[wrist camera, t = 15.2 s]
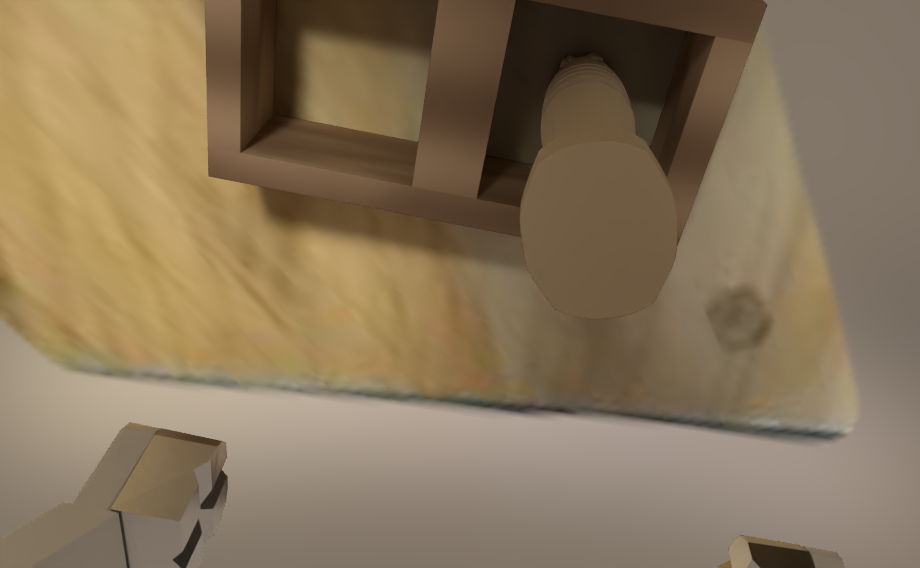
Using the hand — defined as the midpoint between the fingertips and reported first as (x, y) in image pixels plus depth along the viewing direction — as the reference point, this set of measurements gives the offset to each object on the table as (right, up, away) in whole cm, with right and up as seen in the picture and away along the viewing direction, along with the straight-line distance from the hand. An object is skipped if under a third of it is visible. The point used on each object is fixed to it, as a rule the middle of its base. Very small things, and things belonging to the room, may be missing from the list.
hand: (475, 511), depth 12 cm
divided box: (0, +14, +25) cm, 28 cm away
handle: (+6, +13, +25) cm, 29 cm away
